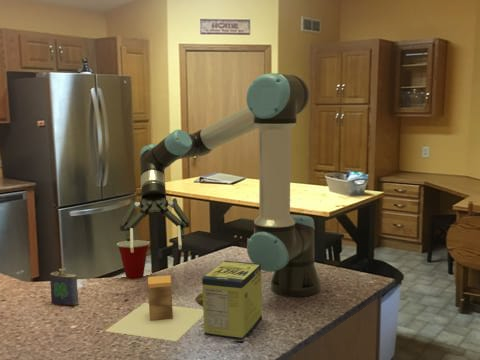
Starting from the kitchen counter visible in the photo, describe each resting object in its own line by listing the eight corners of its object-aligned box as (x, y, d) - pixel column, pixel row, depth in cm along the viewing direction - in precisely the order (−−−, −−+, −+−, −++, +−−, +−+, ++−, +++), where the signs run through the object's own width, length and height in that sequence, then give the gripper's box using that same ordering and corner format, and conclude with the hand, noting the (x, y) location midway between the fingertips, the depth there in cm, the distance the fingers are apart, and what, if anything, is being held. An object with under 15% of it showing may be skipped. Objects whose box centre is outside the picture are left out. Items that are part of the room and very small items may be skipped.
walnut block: (171, 310, 145) (170, 275, 144) (172, 318, 139) (171, 282, 138) (149, 312, 144) (147, 277, 143) (149, 320, 138) (148, 284, 137)
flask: (80, 303, 154) (78, 268, 153) (74, 307, 152) (71, 271, 150) (55, 300, 158) (52, 265, 156) (48, 303, 155) (45, 268, 154)
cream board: (209, 313, 145) (208, 310, 144) (176, 345, 126) (176, 341, 126) (144, 306, 151) (144, 302, 151) (104, 334, 133) (104, 331, 133)
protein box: (262, 319, 140) (261, 262, 138) (243, 344, 126) (241, 281, 123) (226, 314, 144) (224, 259, 142) (203, 338, 129) (201, 277, 127)
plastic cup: (154, 271, 183) (153, 237, 182) (146, 281, 173) (144, 246, 171) (124, 271, 184) (122, 237, 183) (114, 281, 174) (112, 246, 172)
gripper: (193, 193, 168) (199, 252, 155) (112, 197, 163) (112, 257, 151) (194, 179, 162) (200, 239, 149) (110, 183, 157) (110, 244, 145)
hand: (156, 248), depth 150 cm, fingers open, 13 cm apart
